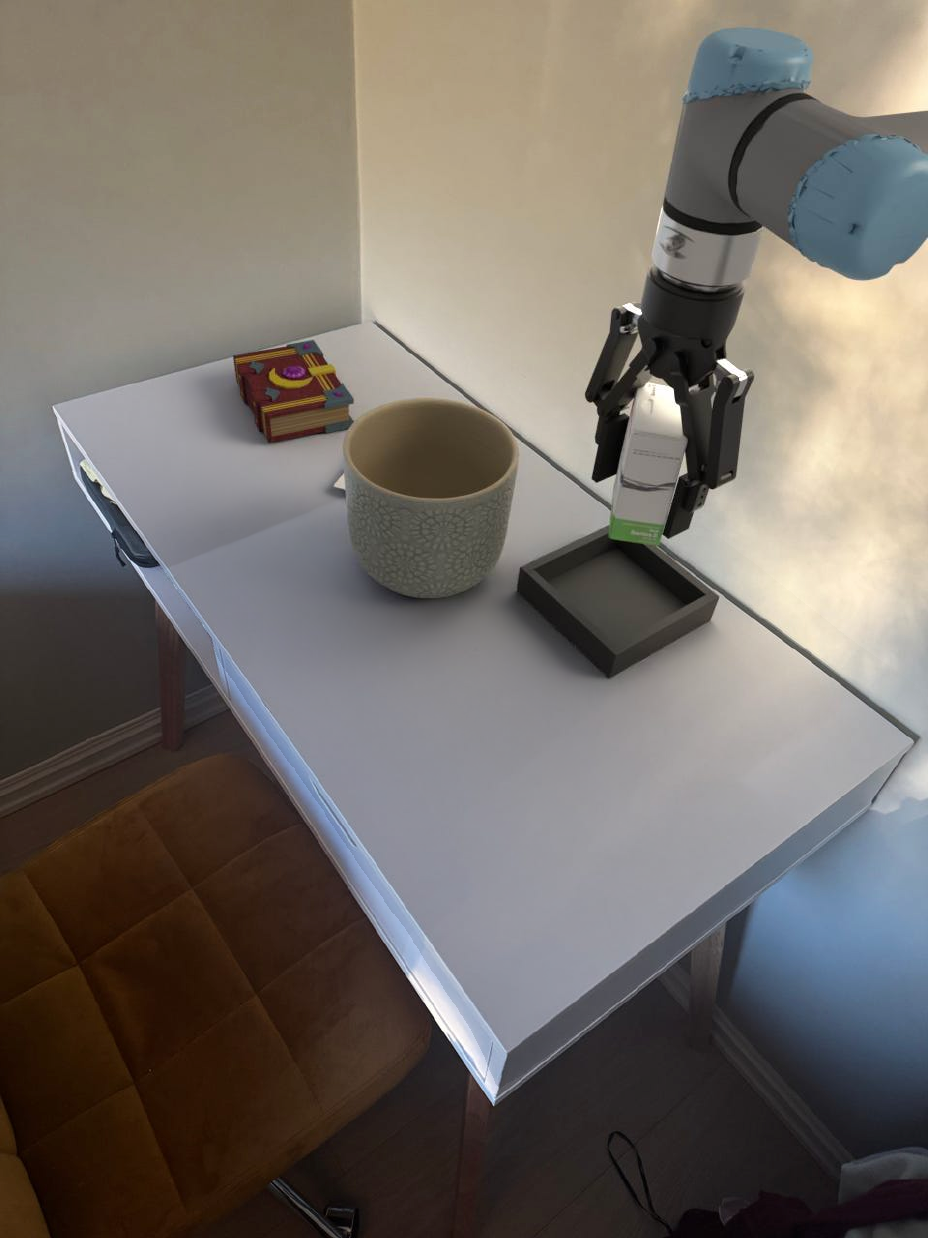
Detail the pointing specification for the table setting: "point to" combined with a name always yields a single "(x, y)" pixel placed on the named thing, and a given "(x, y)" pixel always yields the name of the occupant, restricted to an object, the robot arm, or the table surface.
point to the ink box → (647, 466)
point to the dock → (615, 598)
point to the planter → (429, 494)
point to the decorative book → (292, 391)
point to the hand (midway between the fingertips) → (638, 502)
